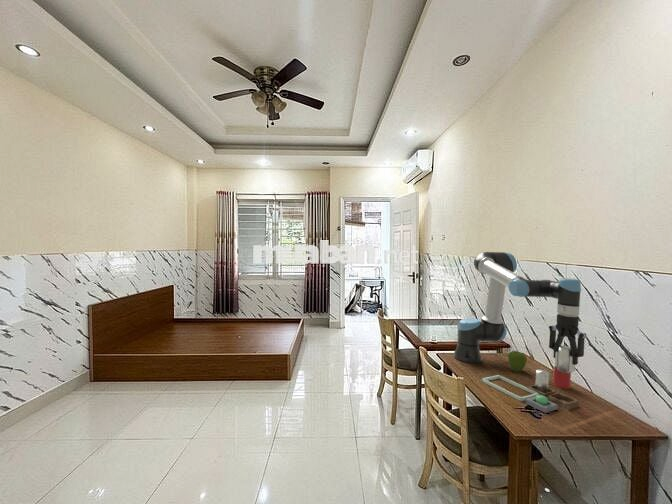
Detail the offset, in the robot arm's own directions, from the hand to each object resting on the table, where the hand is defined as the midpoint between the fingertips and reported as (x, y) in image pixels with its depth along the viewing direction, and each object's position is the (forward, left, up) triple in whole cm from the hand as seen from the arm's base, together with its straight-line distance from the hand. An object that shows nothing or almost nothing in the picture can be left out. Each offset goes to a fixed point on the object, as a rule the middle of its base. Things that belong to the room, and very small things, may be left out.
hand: (564, 368), depth 133 cm
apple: (-32, +15, -16) cm, 39 cm away
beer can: (-11, +18, -16) cm, 26 cm away
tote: (-18, -10, -16) cm, 26 cm away
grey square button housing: (-2, -12, -16) cm, 20 cm away
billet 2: (0, 0, -1) cm, 1 cm away
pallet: (-5, 0, -16) cm, 17 cm away
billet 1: (-9, 0, -15) cm, 17 cm away
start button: (-2, -12, -14) cm, 18 cm away
